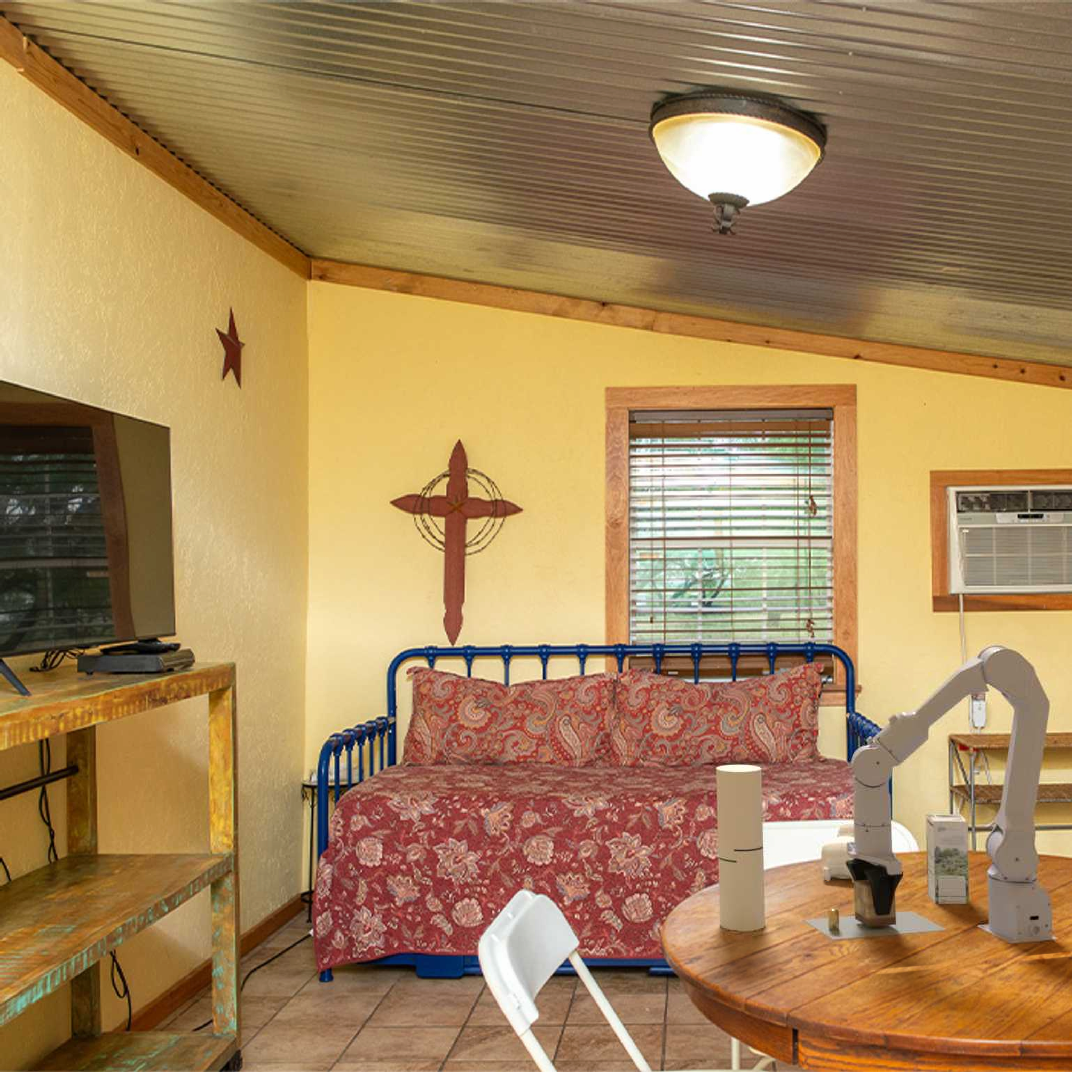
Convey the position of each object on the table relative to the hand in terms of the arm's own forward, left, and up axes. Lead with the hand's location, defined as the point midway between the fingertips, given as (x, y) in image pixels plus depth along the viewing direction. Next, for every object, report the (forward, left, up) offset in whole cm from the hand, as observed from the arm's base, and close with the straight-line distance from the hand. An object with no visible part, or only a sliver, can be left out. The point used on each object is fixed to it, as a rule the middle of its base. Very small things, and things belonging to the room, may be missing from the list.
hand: (874, 910), depth 194 cm
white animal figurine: (+34, -11, -3) cm, 36 cm away
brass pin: (0, +7, -3) cm, 8 cm away
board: (+1, 0, -3) cm, 3 cm away
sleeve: (0, 0, -2) cm, 2 cm away
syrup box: (+11, -19, -3) cm, 22 cm away
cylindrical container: (+8, +19, -3) cm, 21 cm away
